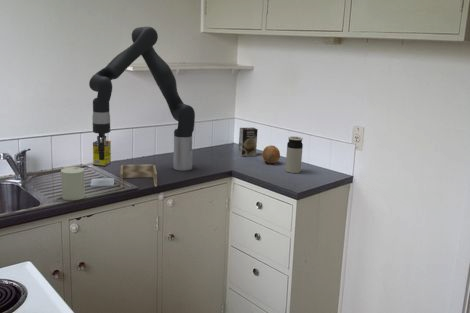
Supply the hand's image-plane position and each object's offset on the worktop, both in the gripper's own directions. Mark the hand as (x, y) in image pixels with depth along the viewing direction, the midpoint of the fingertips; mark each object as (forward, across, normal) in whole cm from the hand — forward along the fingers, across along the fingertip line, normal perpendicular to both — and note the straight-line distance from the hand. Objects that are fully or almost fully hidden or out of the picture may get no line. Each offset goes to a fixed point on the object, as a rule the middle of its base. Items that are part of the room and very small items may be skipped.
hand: (102, 157), depth 217 cm
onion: (+12, +30, -89) cm, 95 cm away
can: (+12, -18, +11) cm, 24 cm away
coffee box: (+12, +48, -80) cm, 94 cm away
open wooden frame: (+12, 0, -16) cm, 20 cm away
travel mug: (+12, +13, -96) cm, 98 cm away
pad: (+12, 0, 0) cm, 12 cm away
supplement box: (+4, 0, 0) cm, 4 cm away
